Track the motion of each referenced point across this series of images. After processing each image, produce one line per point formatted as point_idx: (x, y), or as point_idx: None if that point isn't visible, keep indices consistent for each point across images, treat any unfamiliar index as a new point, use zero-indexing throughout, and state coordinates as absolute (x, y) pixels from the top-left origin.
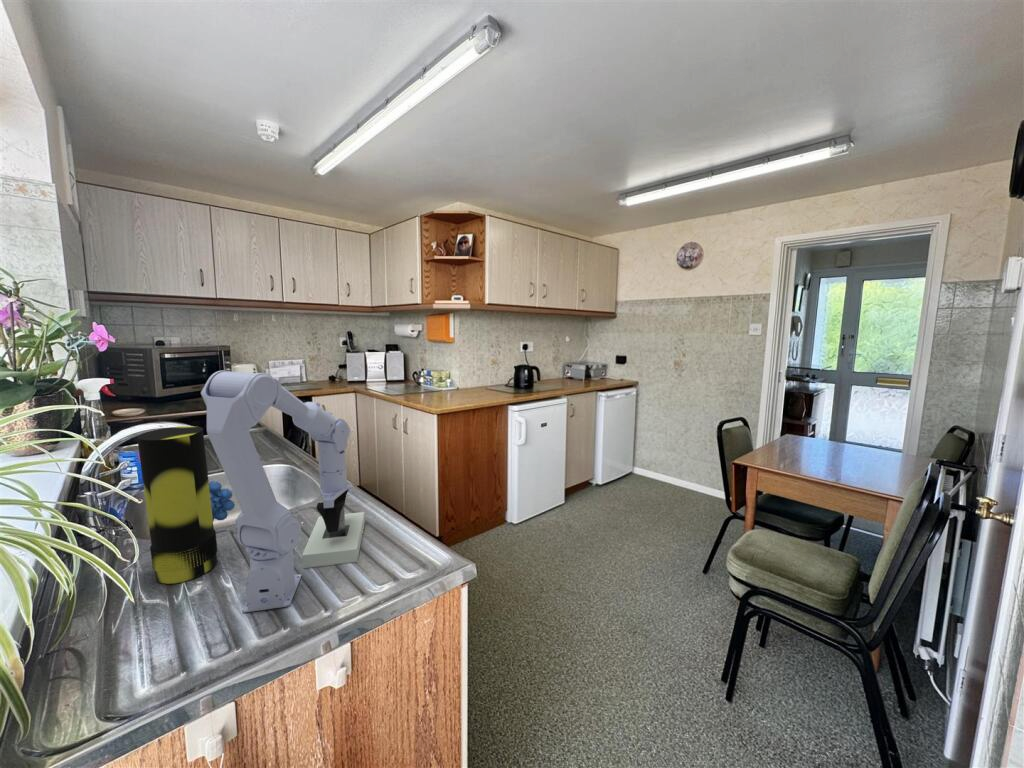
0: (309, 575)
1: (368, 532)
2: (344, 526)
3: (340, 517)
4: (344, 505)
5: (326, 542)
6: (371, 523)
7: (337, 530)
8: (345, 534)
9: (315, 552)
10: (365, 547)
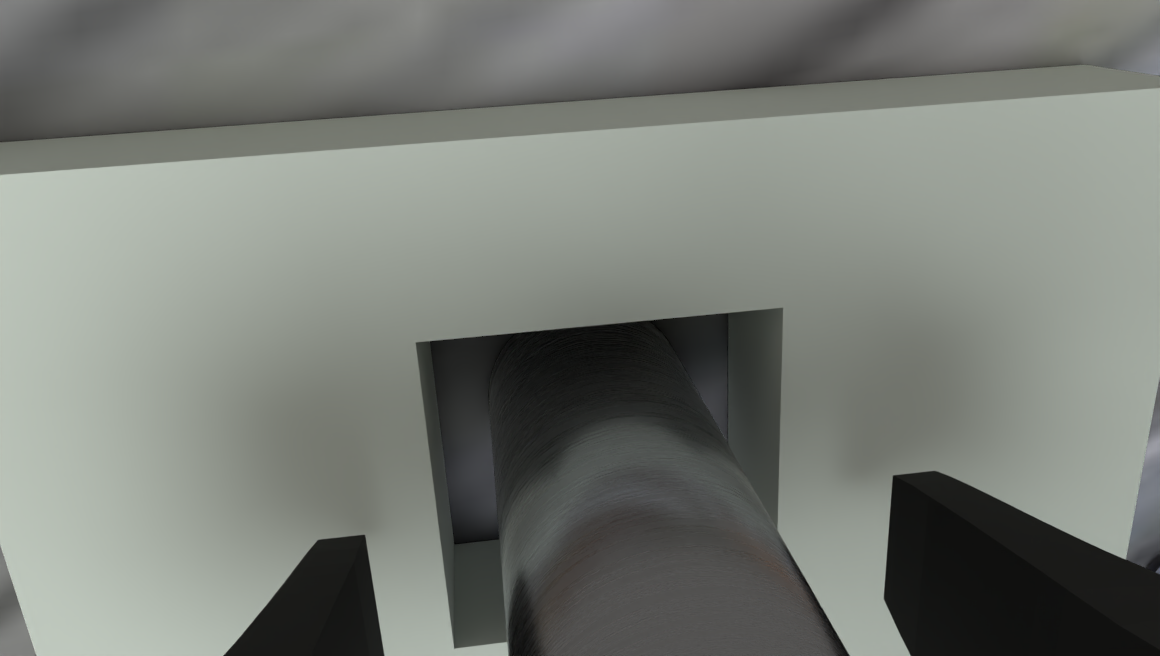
0: (1152, 498)
1: (328, 30)
2: (652, 407)
3: (786, 558)
4: (266, 631)
5: None
6: (10, 25)
7: (950, 478)
8: (590, 344)
9: None
10: (765, 8)
